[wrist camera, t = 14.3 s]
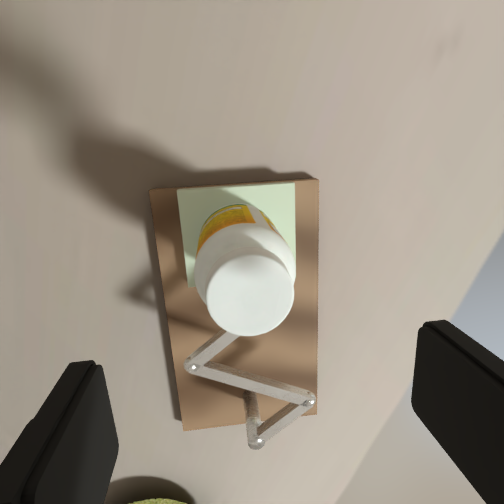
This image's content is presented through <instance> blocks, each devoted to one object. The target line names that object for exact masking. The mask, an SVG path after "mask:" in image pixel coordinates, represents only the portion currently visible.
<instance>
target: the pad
mask: <svg viewBox="0 0 504 504" xmlns="http://www.w3.org/2000/svg"><path fill="white" fill-rule="evenodd" d="M177 197H178V205H179V214H180V222H181V231H182V239H183V247H184V256H185V264H186V273H187V281H188V287H196V285H195V280H194V266H195V259H196V253H197V247H198V240H199V235H200V231H201V228H202V226H203V224H204V222H205V221H206V219H207V218H208V217H209V216H210V215H211V214H212V213H213V212H214V211H216V210H217V209H219V208H221V207H223V206H226V205H230V204H235V203H242V204H248V205H251V206H254V207H256V208H258V209H259V210H261V211H262V212H263V213H265V214H266V215H267V217H268V218H269V219H270V220H271V222H272V223H273V224H274V226H275V227H276V229H277V230H278V231H279V233H280V234H281V236H282V237H283V238H284V240H285V241H286V243H287V244H288V246H289V248H290V249H291V251H292V254H293V257H294V260H295V266H296V237H295V183H294V182H292V181H291V182H276V183H261V184H246V185H231V186H215V187H200V188H185V189H178V190H177ZM295 278H296V275H295Z"/></svg>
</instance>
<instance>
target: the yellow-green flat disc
mask: <svg viewBox="0 0 504 504" xmlns="http://www.w3.org/2000/svg"><path fill="white" fill-rule="evenodd" d="M129 504H187V503H183V502H179V501H175V500H171V499H162V498H157V499H156V500H155V499H150V500H148V499H146V500H144V501H138V502H133V503H129Z"/></svg>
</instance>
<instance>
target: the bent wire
mask: <svg viewBox="0 0 504 504" xmlns="http://www.w3.org/2000/svg"><path fill="white" fill-rule="evenodd" d="M239 336H240V335H235V334H232V333H230V332H227V331H226V330H224V329H221V330H220V331H219V332H218V333H216V334H215V335H214V336H213V337H211V338H210V339H209V340H208V341H207V342H205V343H204V344H203V345H202V346H200V347H199V348H198V349H197V350H195V351H194V352H193V353H192V354H190V355H189V356H188V357H187V358H186V359H185V361H184V369H185V370H186V371H188V372H189V373H191V374H194V375H198V376H201V377H205V378H208V379H212V380H215V381H218V382H222V383H225V384H229V385H232V386H236V387H239V388H243V389H246V391H244V393H243V403H244V411H245V420H246V428H247V437H248V445H249V447H250V448H251V449H260V448H262V447H263V446H264V444H265V442H266V441H267V440H269V439H270V438H271V437H273V436H274V435H275V434H277V433H278V432H280V431H281V430H282V429H284V428H285V427H286V426H288V425H289V424H290V423H292V422H293V421H294V420H296V419H297V418H298V417H300V416H301V415H302V414H304V413H305V412H306V411H308V410H309V409H310V408H312V407H313V405H314V404H315V402H316V397H315V395H314V394H313V393H312V392H310V391H309V390H306V389H302V388H299V387H296V386H292V385H289V384H286V383H282V382H279V381H276V380H272V379H269V378H266V377H262V376H259V375H256V374H253V373H249V372H246V371H243V370H239V369H236V368H233V367H229V366H226V365H223V364H219V363H216V362H213V361H209V360H210V359H212V358H213V357H214V356H215V355H217V354H218V353H219V352H220V351H222V350H223V349H224V348H225V347H227V346H228V345H229V344H230V343H232V342H233V341H234V340H235V339H237V338H238V337H239ZM256 392H257V393H260V394H264V395H267V396H271V397H274V398H277V399H281V400H284V401H288V402H290V403H289V404H287V405H286V406H285V407H283V408H282V409H281V410H279V411H278V412H277V413H275V414H274V415H273V416H271V417H270V418H269V419H267V420H266V421H265V422H263V423H261V418H260V412H259V406H258V400H257V395H256Z"/></svg>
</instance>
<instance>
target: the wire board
mask: <svg viewBox="0 0 504 504" xmlns="http://www.w3.org/2000/svg"><path fill="white" fill-rule="evenodd" d="M291 181H292V182H294V183H295V237H296V278H295V282H294V285H293V286H294V301H293V305H292V307H291V310H290V312H289V314H288V315H287V316H286V318H285V319H284V320H283V321H282V322H281V323H280V324H279V325H278V326H277V327H276V328H274V329H273V330H271V331H269V332H267V333H264V334H260V335H256V336H239V337H238V338H237V339H235V340H234V341H233V342H232V343H230V344H229V345H228V346H227V347H225V348H224V349H223V350H222V351H220V352H219V353H218V354H217V355H215V356H214V357H213V358H212V359H210V360H209V361H213V362H216V363H219V364H223V365H226V366H229V367H233V368H236V369H239V370H243V371H246V372H249V373H253V374H256V375H259V376H262V377H266V378H269V379H272V380H276V381H279V382H282V383H286V384H289V385H292V386H296V387H299V388H302V389H306V390H309V391H310V392H312V393H313V394H314V395H315V397H316V402H315V404H314V405H313V407H312V408H310V409H309V410H308V411H306V412H305V413H304V414H302V415H301V416H307V415H315V414H317V348H318V233H319V180H318V179H316V178H312V179H297V180H282V181H266V182H251V183H236V184H220V185H205V186H190V187H175V188H159V189H151V190H149V196H150V203H151V210H152V217H153V223H154V230H155V237H156V244H157V251H158V258H159V265H160V272H161V279H162V286H163V293H164V300H165V307H166V313H167V320H168V327H169V334H170V341H171V348H172V355H173V362H174V369H175V376H176V383H177V390H178V396H179V403H180V410H181V417H182V424H183V431H189V430H197V429H205V428H213V427H221V426H228V425H236V424H244V423H246V420H245V411H244V403H243V393H244V391H246V389H243V388H239V387H236V386H232V385H229V384H225V383H222V382H218V381H215V380H212V379H208V378H205V377H201V376H198V375H194V374H191V373H189V372H188V371H186V370H185V369H184V361H185V359H186V358H187V357H188V356H189V355H190V354H192V353H193V352H194V351H195V350H197V349H198V348H199V347H200V346H202V345H203V344H204V343H205V342H207V341H208V340H209V339H210V338H211V337H213V336H214V335H215V334H216V333H218V332H219V331H220V330H221V329H223V328H221V327H220V326H219V325H217V324H216V322H215V321H214V320H213V319H212V317H211V316H210V313H209V311H208V309H207V305H206V304H205V303H204V302H203V300H202V299H201V297H200V295H199V293H198V291H197V288H196V287H188V281H187V273H186V264H185V256H184V247H183V239H182V231H181V222H180V214H179V205H178V197H177V190H178V189H185V188H200V187H215V186H231V185H246V184H261V183H276V182H291ZM256 395H257V400H258V406H259V412H260V418H261V421H266V420H267V419H269V418H270V417H271V416H273V415H274V414H275V413H277V412H278V411H279V410H281V409H282V408H283V407H285V406H286V405H287V404H289V403H290V402H288V401H284V400H281V399H277V398H274V397H271V396H267V395H264V394H260V393H257V392H256Z"/></svg>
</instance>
